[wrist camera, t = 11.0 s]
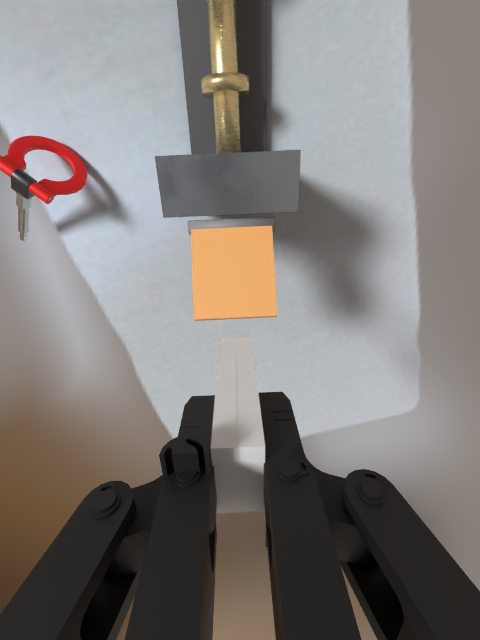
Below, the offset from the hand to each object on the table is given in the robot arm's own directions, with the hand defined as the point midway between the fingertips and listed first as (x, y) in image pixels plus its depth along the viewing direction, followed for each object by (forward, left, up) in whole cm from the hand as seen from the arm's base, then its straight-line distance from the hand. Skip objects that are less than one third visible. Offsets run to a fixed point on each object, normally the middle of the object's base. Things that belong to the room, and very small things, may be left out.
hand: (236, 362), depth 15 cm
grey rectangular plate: (-8, 0, -25) cm, 26 cm away
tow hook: (-9, -19, -28) cm, 35 cm away
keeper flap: (-5, 0, -11) cm, 12 cm away
